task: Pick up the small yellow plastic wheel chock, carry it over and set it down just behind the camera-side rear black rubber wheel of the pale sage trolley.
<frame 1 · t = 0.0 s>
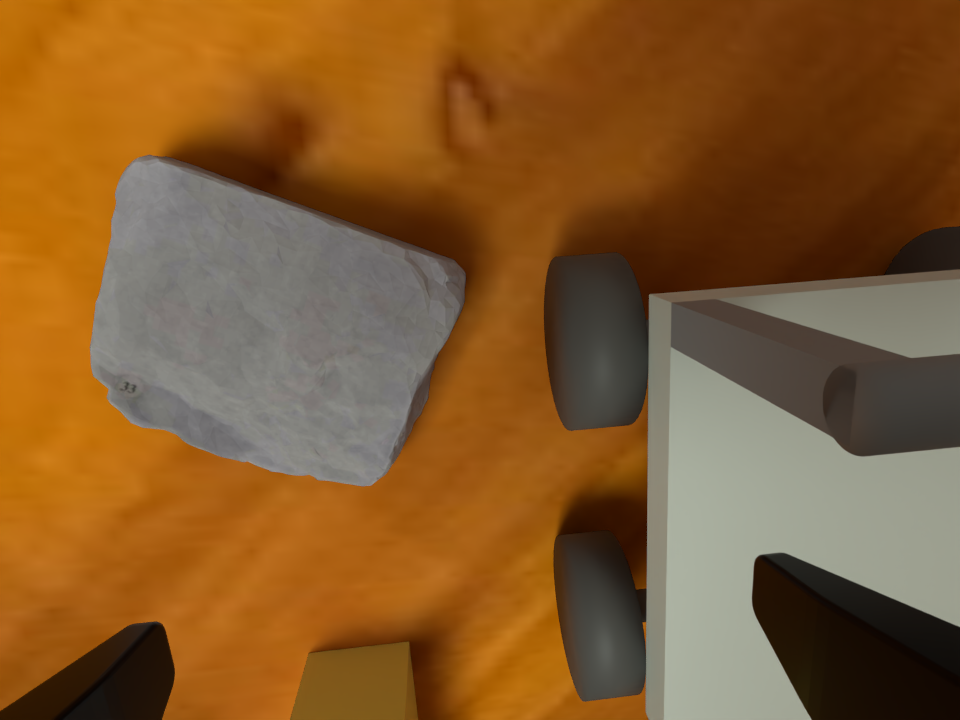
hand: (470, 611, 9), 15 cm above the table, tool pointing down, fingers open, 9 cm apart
trolley: (732, 437, 25), on the table
chock: (368, 707, 27), on the table
stone block: (291, 330, 22), on the table
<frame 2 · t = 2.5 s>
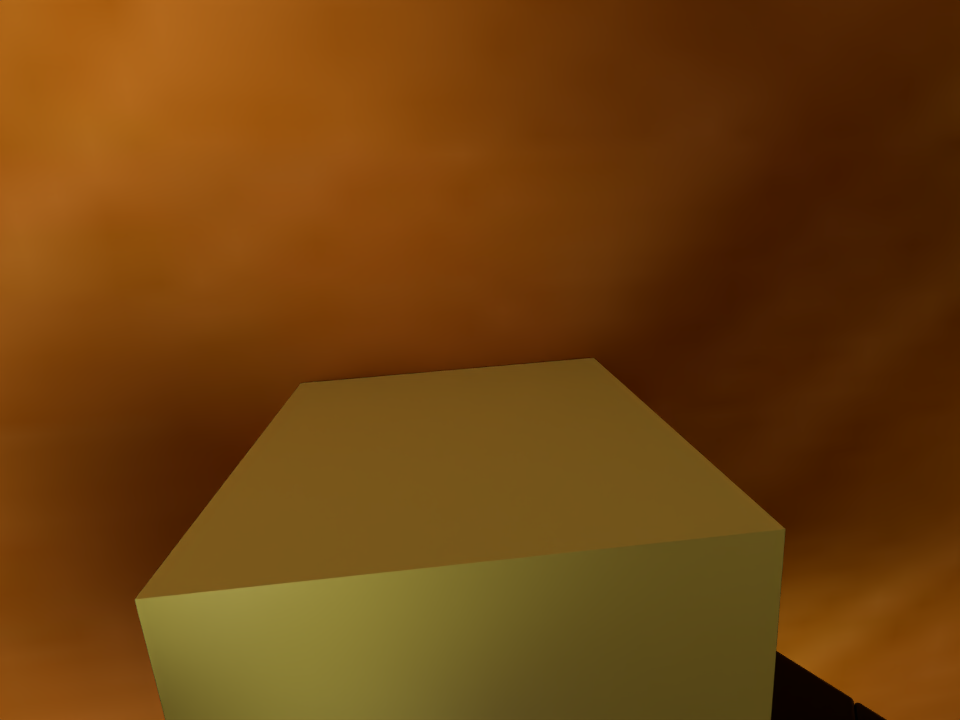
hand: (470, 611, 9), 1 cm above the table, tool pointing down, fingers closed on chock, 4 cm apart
chock: (466, 569, 10), on the table, touching gripper
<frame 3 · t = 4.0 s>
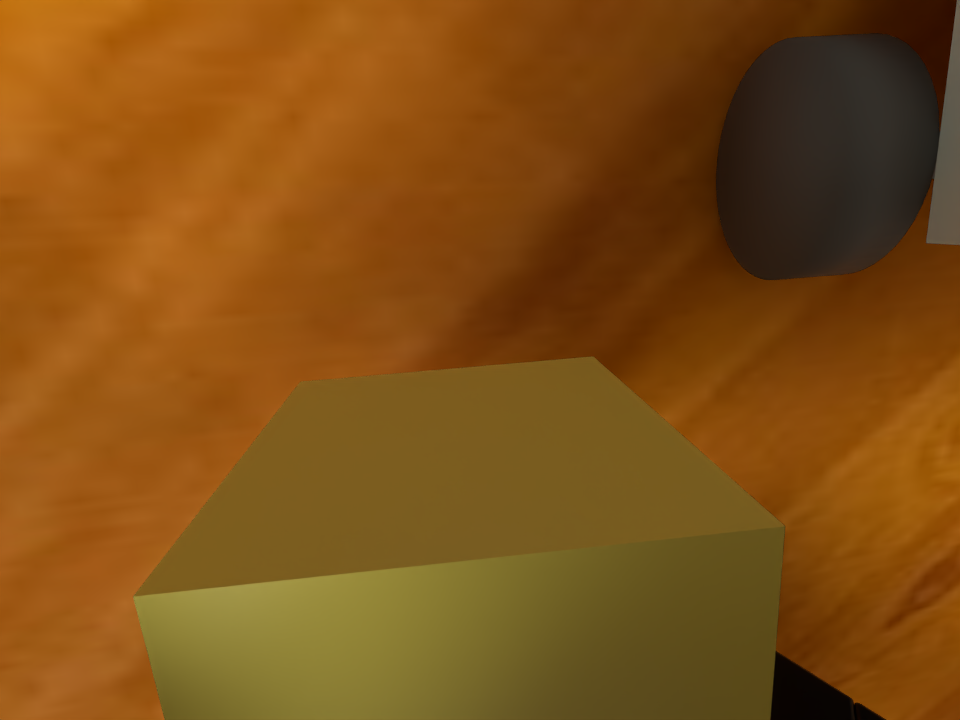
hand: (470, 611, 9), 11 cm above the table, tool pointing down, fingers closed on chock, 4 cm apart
chock: (465, 568, 10), point 10 cm above the table, touching gripper
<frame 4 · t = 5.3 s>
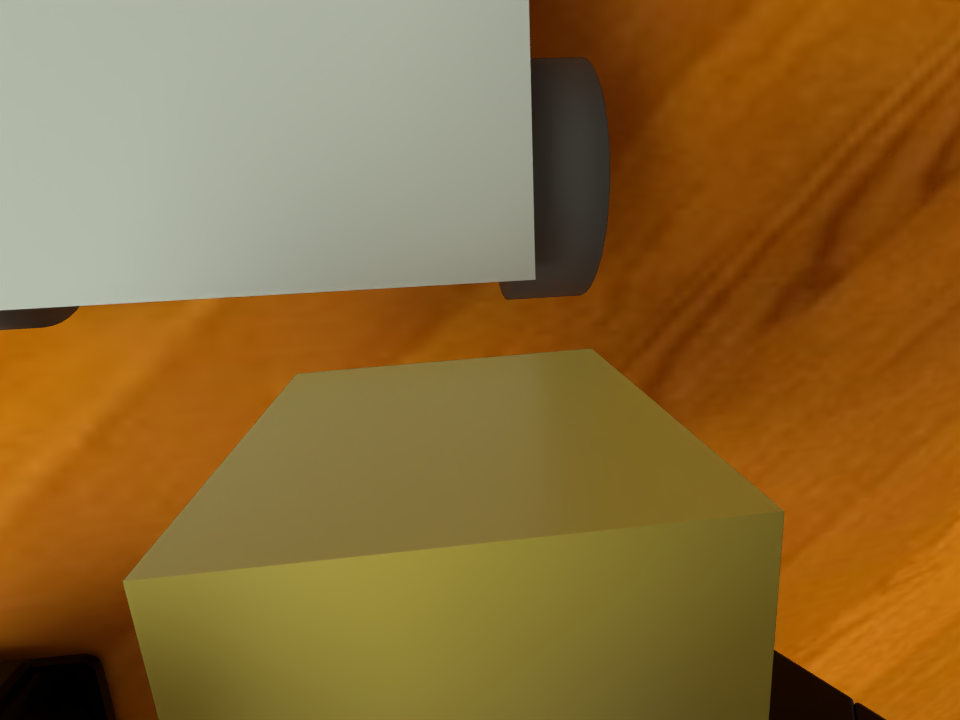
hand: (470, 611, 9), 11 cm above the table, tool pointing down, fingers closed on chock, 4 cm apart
trolley: (272, 0, 16), on the table
chock: (463, 562, 10), point 10 cm above the table, touching gripper
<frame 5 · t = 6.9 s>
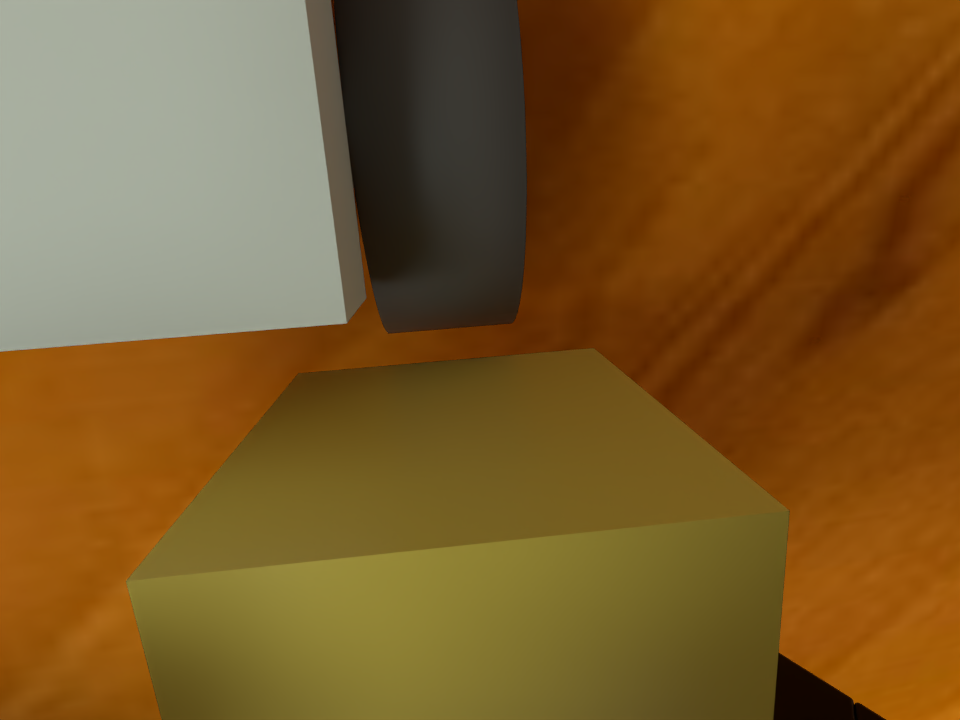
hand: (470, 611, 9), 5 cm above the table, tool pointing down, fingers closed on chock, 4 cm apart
chock: (465, 561, 10), point 4 cm above the table, touching gripper
when the fingers open (2 cm above the table, at t = 8.0 s): chock drops 2 cm, on the table.
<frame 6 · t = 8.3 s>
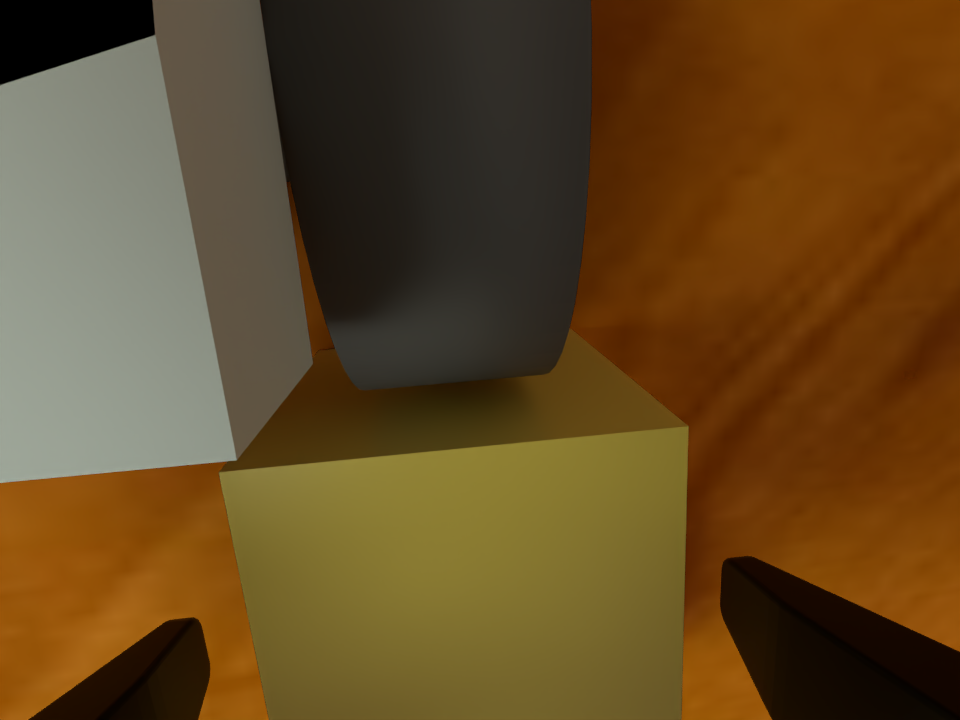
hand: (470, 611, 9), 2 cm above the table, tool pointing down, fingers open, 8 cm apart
chock: (461, 512, 11), on the table
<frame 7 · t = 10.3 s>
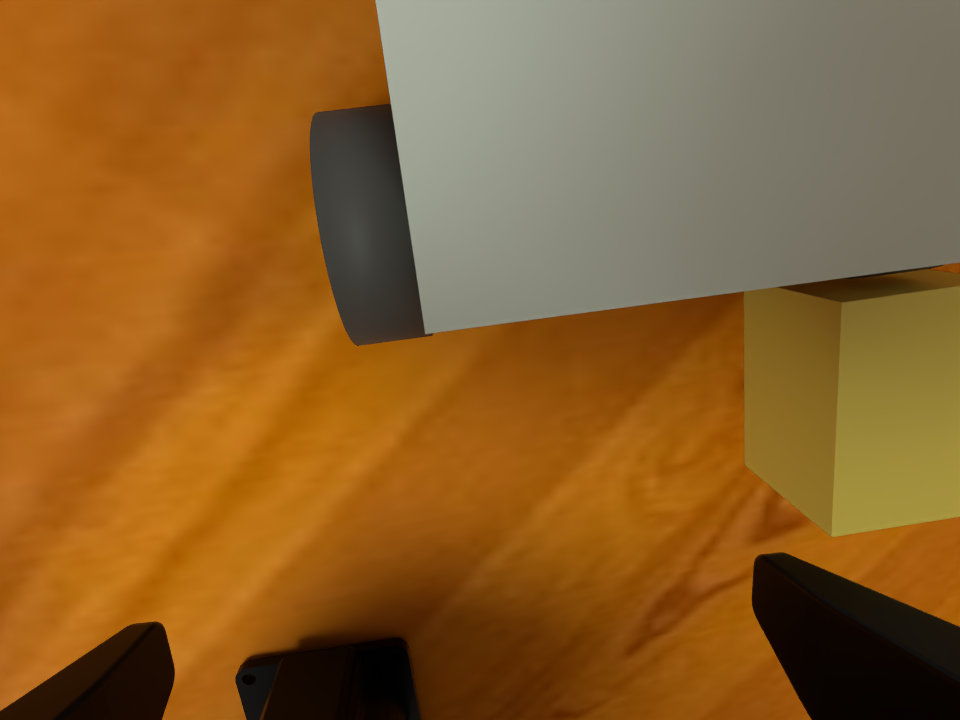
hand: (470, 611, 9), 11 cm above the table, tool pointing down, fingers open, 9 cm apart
trolley: (592, 8, 17), on the table
chock: (802, 366, 21), on the table
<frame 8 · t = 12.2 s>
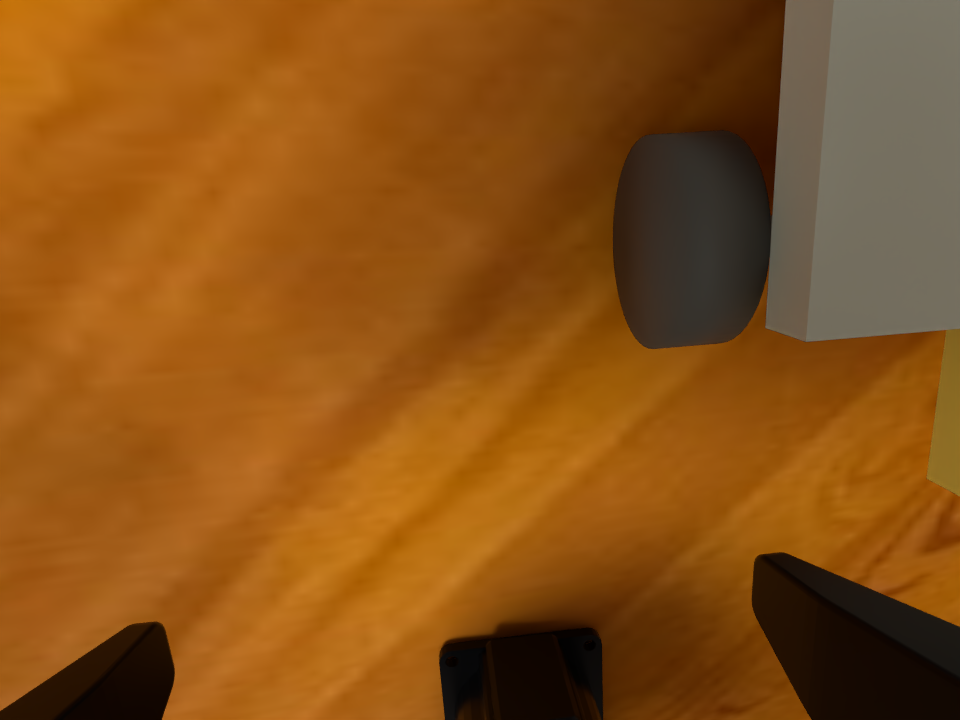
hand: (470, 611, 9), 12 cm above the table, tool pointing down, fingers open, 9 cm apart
trolley: (853, 50, 19), on the table
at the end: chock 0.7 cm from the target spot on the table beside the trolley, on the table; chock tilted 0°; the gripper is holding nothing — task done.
